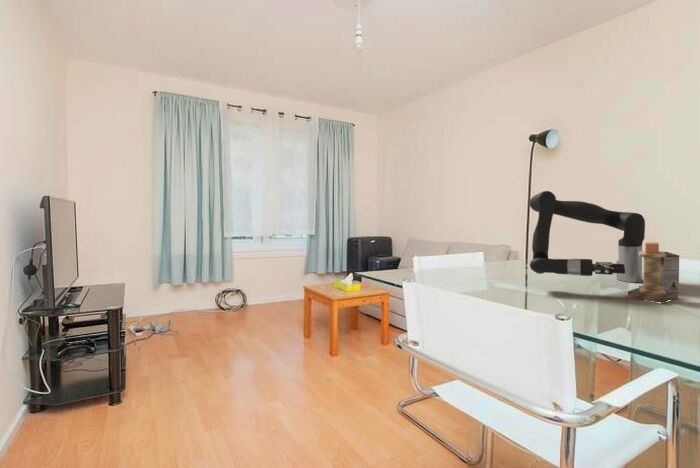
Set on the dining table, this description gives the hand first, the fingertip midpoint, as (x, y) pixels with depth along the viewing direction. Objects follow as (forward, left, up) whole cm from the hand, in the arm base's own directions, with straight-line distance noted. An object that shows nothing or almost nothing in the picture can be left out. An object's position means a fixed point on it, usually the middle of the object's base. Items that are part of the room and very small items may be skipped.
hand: (624, 268), depth 155 cm
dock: (+8, +5, -12) cm, 15 cm away
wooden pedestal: (+8, +4, -9) cm, 13 cm away
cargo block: (+8, +4, +7) cm, 11 cm away
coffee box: (+5, +21, -12) cm, 24 cm away
